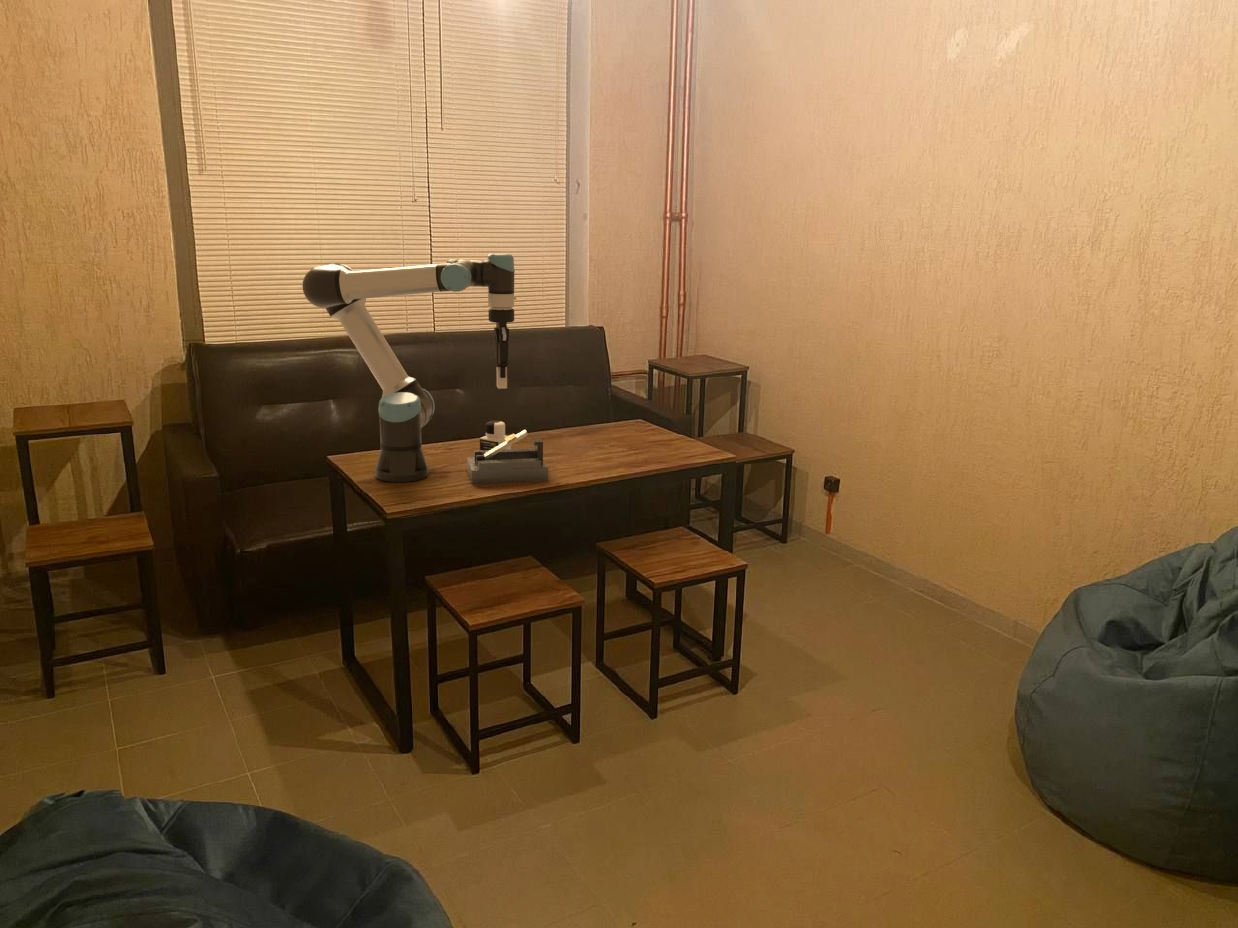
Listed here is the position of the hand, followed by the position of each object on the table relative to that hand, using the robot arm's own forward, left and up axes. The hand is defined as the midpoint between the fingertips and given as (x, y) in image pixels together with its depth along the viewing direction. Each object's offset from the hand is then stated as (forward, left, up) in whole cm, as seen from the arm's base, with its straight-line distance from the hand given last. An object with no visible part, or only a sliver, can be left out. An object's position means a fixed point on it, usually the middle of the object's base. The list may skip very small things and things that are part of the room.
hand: (501, 387), depth 268 cm
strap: (-1, -10, -16) cm, 19 cm away
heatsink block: (0, -10, -24) cm, 26 cm away
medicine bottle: (-1, +8, -25) cm, 26 cm away
